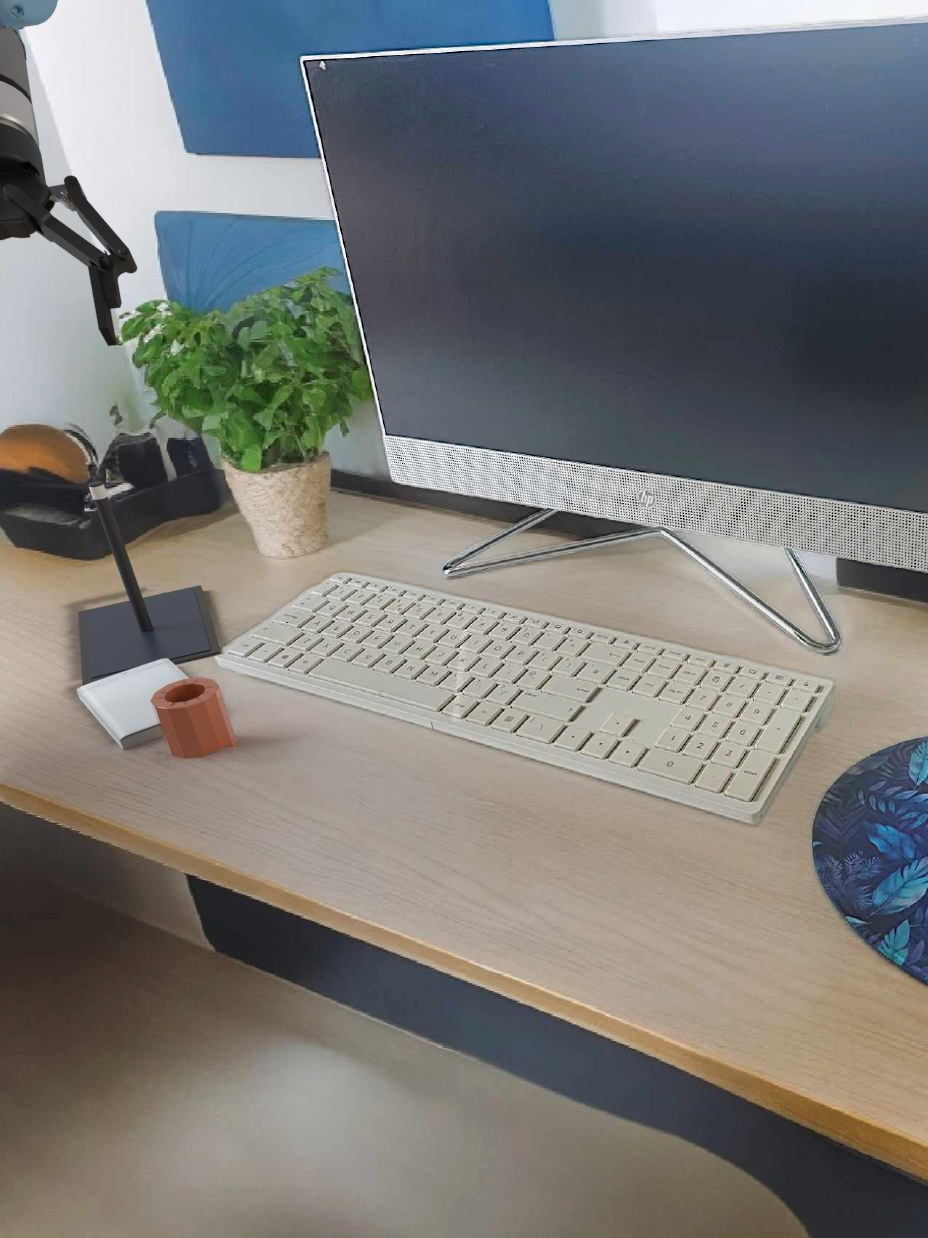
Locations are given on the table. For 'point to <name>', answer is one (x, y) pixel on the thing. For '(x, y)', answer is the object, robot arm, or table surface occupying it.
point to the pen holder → (193, 718)
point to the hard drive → (130, 701)
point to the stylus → (120, 555)
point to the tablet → (146, 634)
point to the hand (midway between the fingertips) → (26, 347)
